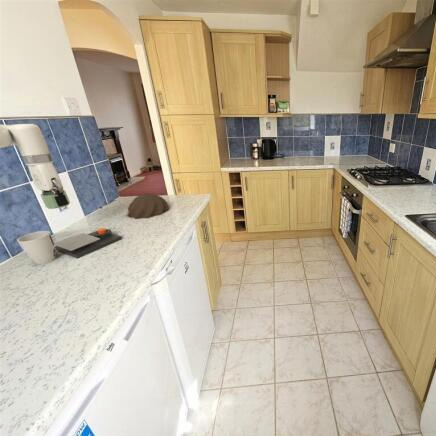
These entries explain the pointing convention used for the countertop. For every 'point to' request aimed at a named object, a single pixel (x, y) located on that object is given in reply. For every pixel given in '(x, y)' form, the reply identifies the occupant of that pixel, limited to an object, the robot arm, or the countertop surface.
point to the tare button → (101, 231)
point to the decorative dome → (147, 206)
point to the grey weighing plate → (76, 241)
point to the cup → (38, 246)
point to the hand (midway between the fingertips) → (58, 203)
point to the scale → (93, 244)
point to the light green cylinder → (52, 200)
